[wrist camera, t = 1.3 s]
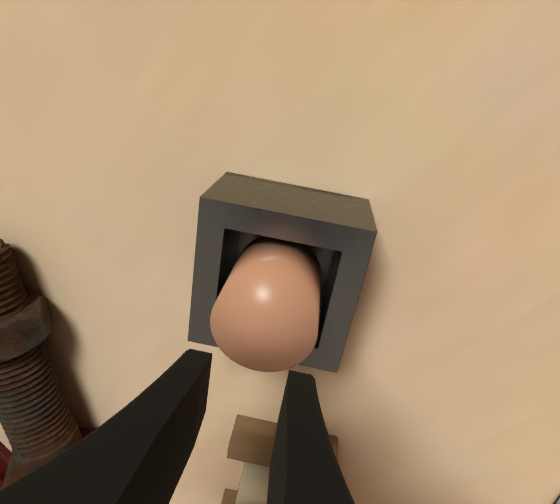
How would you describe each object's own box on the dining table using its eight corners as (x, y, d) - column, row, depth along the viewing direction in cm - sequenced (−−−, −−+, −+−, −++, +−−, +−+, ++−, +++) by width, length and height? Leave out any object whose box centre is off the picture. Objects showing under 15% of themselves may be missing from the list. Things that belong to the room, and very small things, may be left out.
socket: (337, 436, 24) (337, 467, 22) (311, 520, 27) (309, 553, 25) (237, 414, 24) (229, 442, 22) (223, 500, 27) (215, 530, 25)
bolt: (35, 220, 23) (105, 428, 28) (-73, 240, 21) (23, 457, 26) (15, 251, 18) (105, 497, 23) (-129, 280, 16) (4, 538, 21)
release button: (329, 243, 16) (328, 292, 13) (312, 318, 18) (306, 381, 14) (241, 225, 16) (215, 269, 13) (231, 301, 18) (205, 359, 14)
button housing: (368, 199, 18) (377, 232, 14) (336, 319, 21) (336, 372, 17) (226, 172, 18) (199, 196, 15) (213, 293, 21) (187, 340, 17)
